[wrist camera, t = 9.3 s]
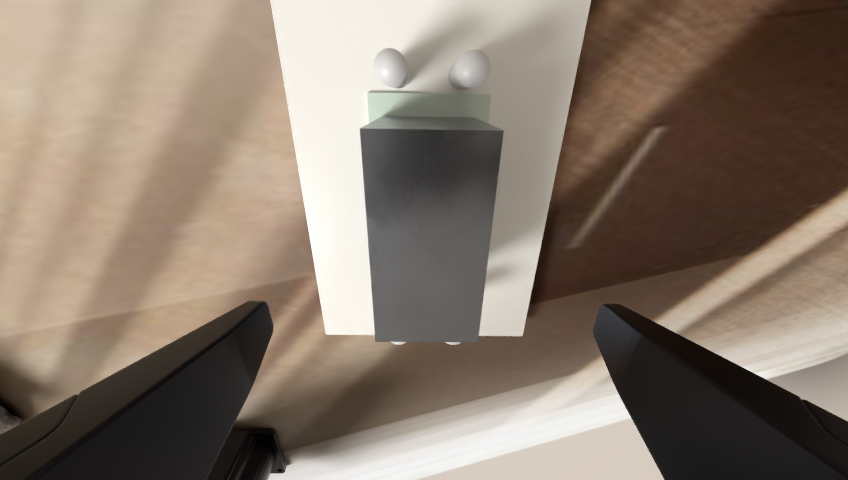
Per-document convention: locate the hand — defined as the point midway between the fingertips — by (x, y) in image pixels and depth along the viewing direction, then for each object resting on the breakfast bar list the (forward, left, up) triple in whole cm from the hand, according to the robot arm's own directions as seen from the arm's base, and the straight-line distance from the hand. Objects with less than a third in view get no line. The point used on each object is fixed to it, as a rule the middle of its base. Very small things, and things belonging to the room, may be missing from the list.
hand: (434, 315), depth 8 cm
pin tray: (0, 0, -11) cm, 11 cm away
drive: (0, 0, -10) cm, 10 cm away
